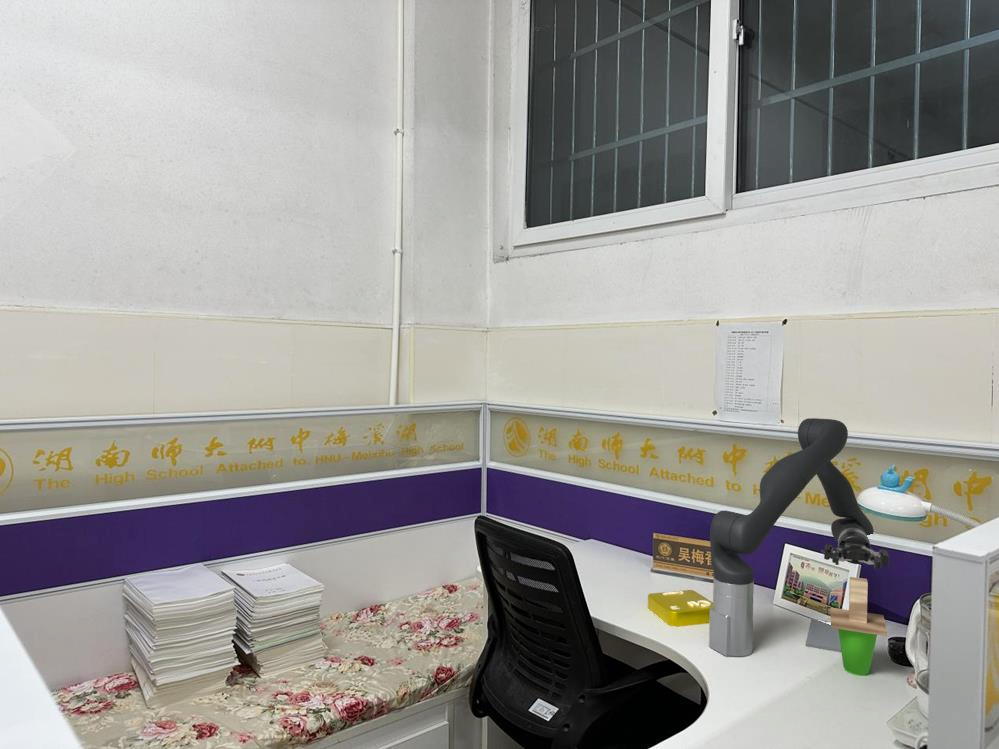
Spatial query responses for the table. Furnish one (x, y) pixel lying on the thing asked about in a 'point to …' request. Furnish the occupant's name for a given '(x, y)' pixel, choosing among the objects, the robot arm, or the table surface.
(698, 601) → the element tile
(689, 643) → the table surface
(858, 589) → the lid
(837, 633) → the mat
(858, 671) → the cup
